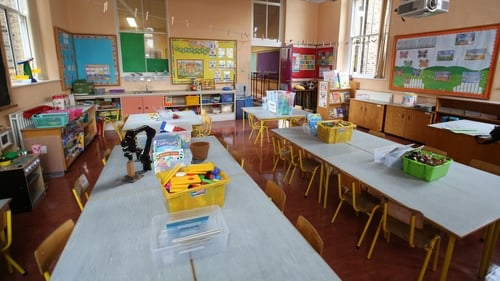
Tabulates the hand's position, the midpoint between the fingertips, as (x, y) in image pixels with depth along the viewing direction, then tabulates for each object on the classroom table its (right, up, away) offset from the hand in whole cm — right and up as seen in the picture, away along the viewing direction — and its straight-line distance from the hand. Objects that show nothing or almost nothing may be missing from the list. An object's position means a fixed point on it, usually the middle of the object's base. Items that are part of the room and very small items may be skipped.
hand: (134, 161), depth 244 cm
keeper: (0, -15, -3) cm, 15 cm away
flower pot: (+49, 0, +48) cm, 68 cm away
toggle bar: (0, -14, -5) cm, 15 cm away
